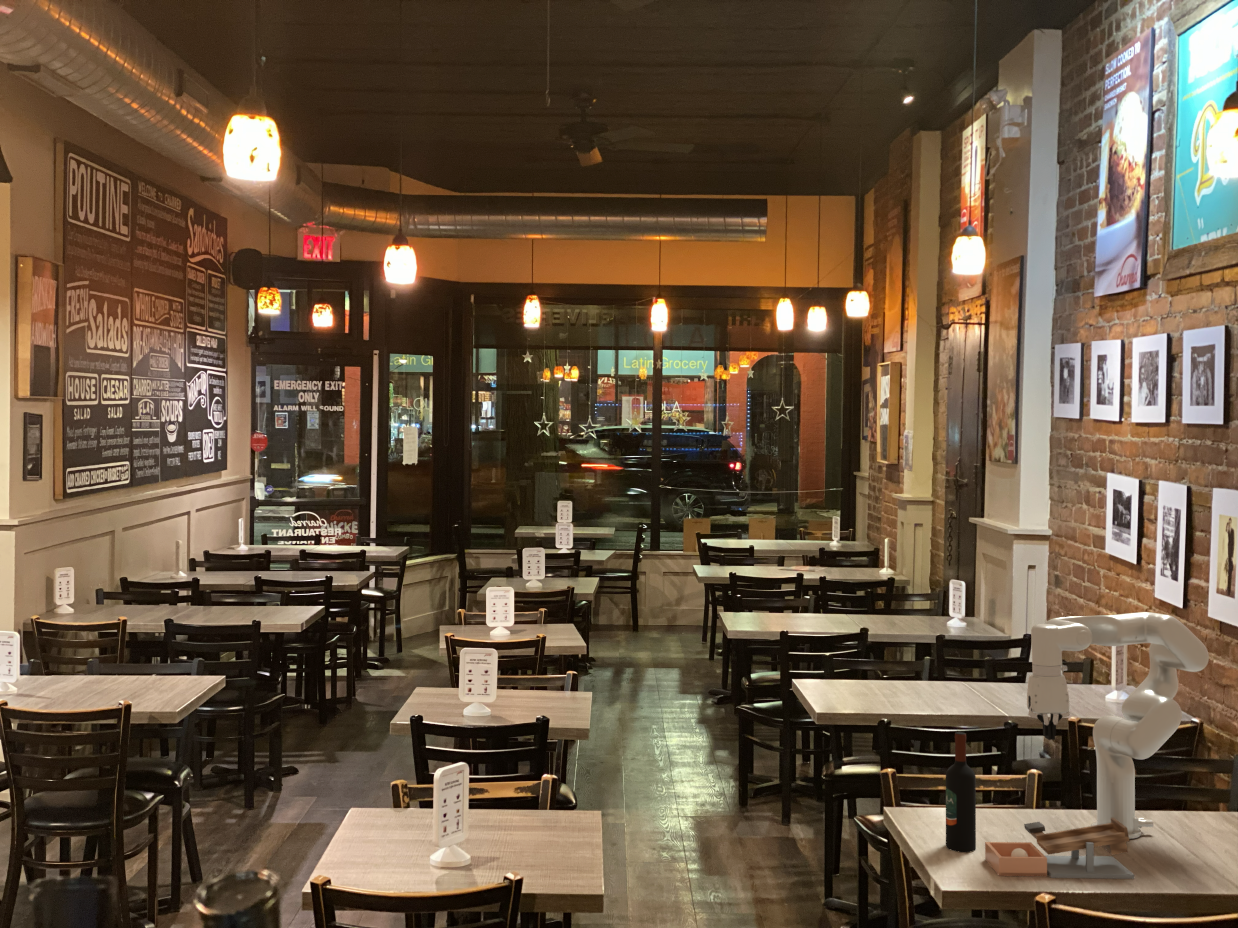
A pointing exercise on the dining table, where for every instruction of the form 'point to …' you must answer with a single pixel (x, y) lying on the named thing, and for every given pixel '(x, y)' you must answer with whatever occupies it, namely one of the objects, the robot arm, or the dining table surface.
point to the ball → (1019, 853)
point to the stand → (1086, 866)
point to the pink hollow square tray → (1015, 859)
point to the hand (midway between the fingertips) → (1049, 738)
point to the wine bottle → (960, 801)
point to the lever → (1082, 837)
